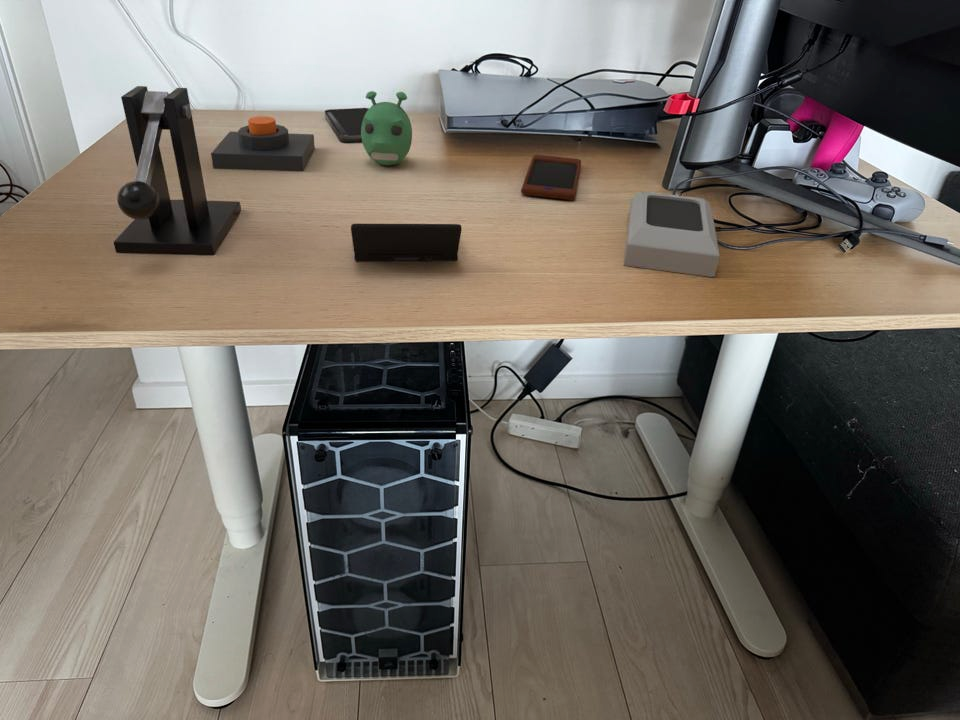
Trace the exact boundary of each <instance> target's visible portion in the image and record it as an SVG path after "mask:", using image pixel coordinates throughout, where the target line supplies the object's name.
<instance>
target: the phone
mask: <svg viewBox="0 0 960 720" xmlns="http://www.w3.org/2000/svg"><path fill="white" fill-rule="evenodd" d="M369 108H370V107H369ZM369 108H368V107H351V108H332V109H325V110H324V119H325V121H326V122H327V124H328V125H329V127H330V128H331V130H332V131H333V133H334V135H335V136H336V137H337V139H338V141H339V142H340V143H342V144H357V143H363V142H362V137H361V127H362V122H363V119H364V116H365V114H366V112H367V111H368V109H369Z"/></svg>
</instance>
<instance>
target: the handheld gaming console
mask: <svg viewBox="0 0 960 720" xmlns="http://www.w3.org/2000/svg"><path fill="white" fill-rule="evenodd" d="M462 229H463V227H462V225H461V224H459V223H352V224H351V225H350V233H351V241H352V247H353V248H352V249H353V252H354V261H355V262H358V261H359V262H375V261H376V262H379V261H380V262H391V261H419V262H423V261H425V262H428V261H429V262H433V261H434V262H435V261H437V262H439V261H440V262H441V261H442V262H443V261H445V262H446V261H447V262H450V261H453V262H454V261H455V262H457V261H458V260H459V255H458V254H459V248H460V243H461V242H460V241H461V236H462V231H463V230H462Z"/></svg>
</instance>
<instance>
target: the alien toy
mask: <svg viewBox="0 0 960 720" xmlns="http://www.w3.org/2000/svg"><path fill="white" fill-rule="evenodd" d="M376 96H377V92H376V91H373V90H370V91H368V92H367V93H366V95H365V98H366V99H367V100H370V101H371V103H372V105H371V106H370V107H369V109H368V111H367V112H366V114H365V116H364V119H363V122H362V127H361V137H362V142H361V143H362V146H363V148H364V151H365V152H366V154H367V155H368V157H369V158H370V159H371V160H372V161H374V162H375V163H377V164H379V165H382V166H387V167H388V166H389V167H390V166H395V165H397V164H400V163H401V162H402V161H403V160H404V159H405V158H406V157H407V155H408V154H409V152H410V149H411V147H412V141H413V127H412V123H411V120H410V117H409V115H408V114H407V111H405V109H404V108H403V107H402V106H401V105H402V102H403V101H407V100H408V96H407V94H406V93H405V92H404V91H398V92H396V93H395V96H396V97H397V99H398V100H397V102H396V103H395V102H391V101H380V102H376V100H375V98H376Z"/></svg>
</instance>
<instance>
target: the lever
mask: <svg viewBox="0 0 960 720" xmlns="http://www.w3.org/2000/svg"><path fill="white" fill-rule="evenodd" d="M169 94H170V93H169V92H168V91H156V90H155V91H154V90H148V91H146V92H145V97H144V101H143V105H142V109H141V114H142V116H143V118H144V120H145V121H146V123H147V128H146V133H145V137H144V141H143V146H142V150H141V155H140V159H139V163H138V168H137V167H136V172H135V177H134V180H132V181H131V180H130V181H127V182H126V183H124V184H123V185H122V186H121V187H120V188H119V190H118V192H117V196H116V201H117V205H118V208H119V209H120V211H121V212H122V213H123V214H124V215H125V216H127V217H128V218H130V219H132V220H134V219H136V220H144V219H148V218H150V217H152V216H153V215H154V214H155V213H156V212H157V210H158V207H159V197H158V194H157V192H156V191H155V190H154V188H153V187H151V186H150V184H151V179H152V175H153V170H154V165H155V161H156V156H157V152H158V147H160V142H161V138H162V133H163V130H164V131H165V130H166V131H170V130H169V125H168V120H167V114H166V109H165V104H164V98H165V97H166V96H167V95H169Z"/></svg>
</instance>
